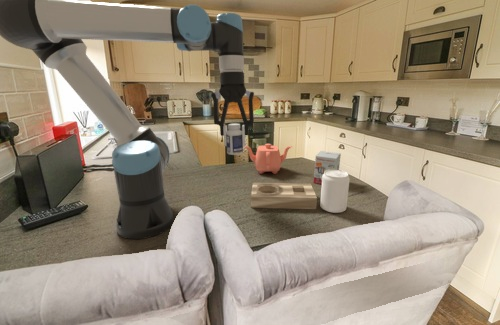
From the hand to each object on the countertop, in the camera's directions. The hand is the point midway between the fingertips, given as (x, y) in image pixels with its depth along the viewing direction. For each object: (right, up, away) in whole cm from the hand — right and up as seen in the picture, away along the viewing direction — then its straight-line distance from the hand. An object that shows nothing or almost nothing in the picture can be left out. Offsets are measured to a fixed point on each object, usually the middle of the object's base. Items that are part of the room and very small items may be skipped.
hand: (235, 144), depth 85 cm
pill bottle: (0, -3, +1) cm, 3 cm away
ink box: (+36, -14, +20) cm, 44 cm away
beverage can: (+32, -21, -3) cm, 38 cm away
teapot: (+13, -10, +34) cm, 38 cm away
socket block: (+16, -19, +3) cm, 25 cm away
